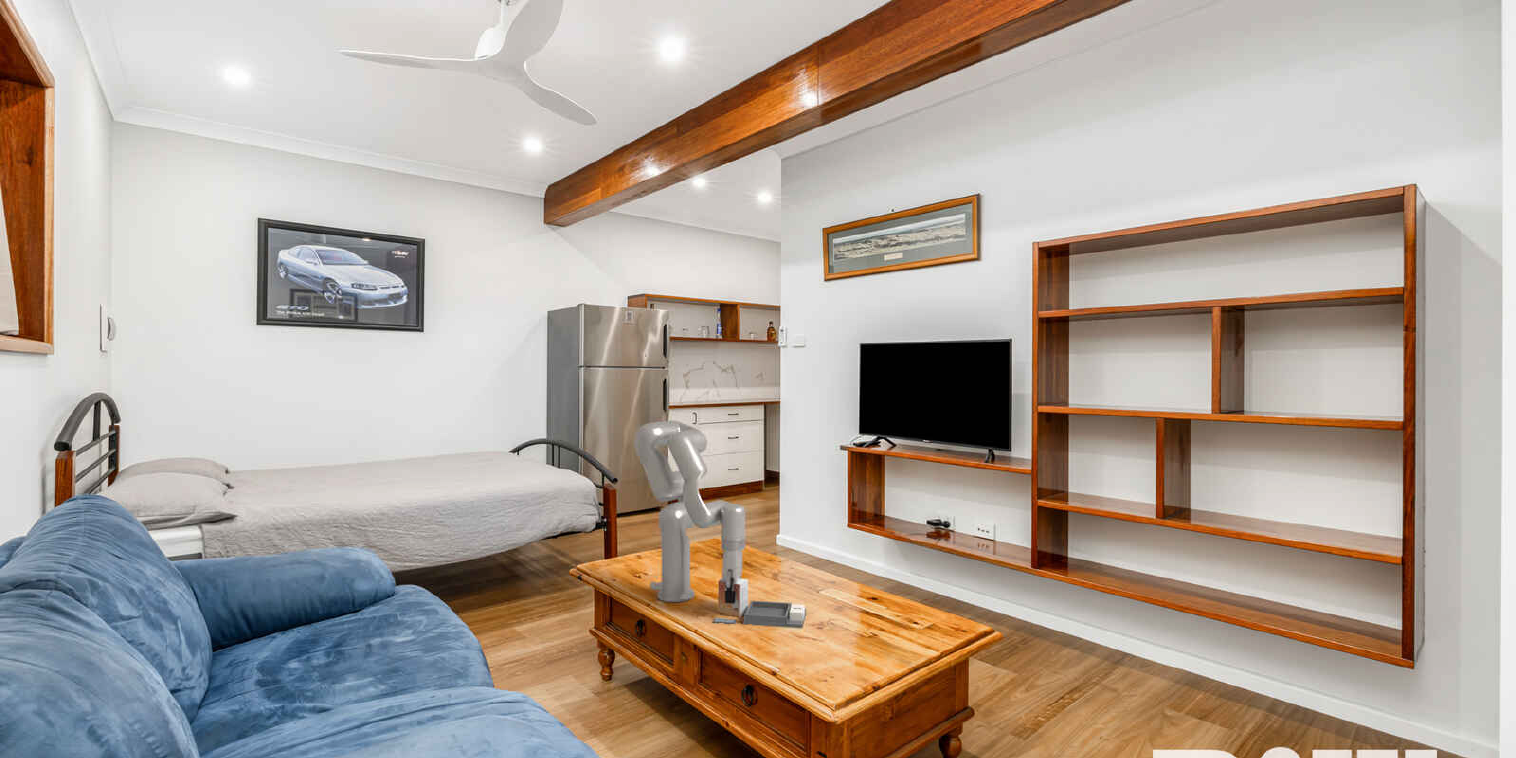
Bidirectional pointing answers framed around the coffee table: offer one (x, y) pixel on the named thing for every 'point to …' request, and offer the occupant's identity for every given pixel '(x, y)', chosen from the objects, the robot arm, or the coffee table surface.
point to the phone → (724, 621)
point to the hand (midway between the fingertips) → (733, 597)
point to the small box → (740, 598)
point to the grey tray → (775, 614)
